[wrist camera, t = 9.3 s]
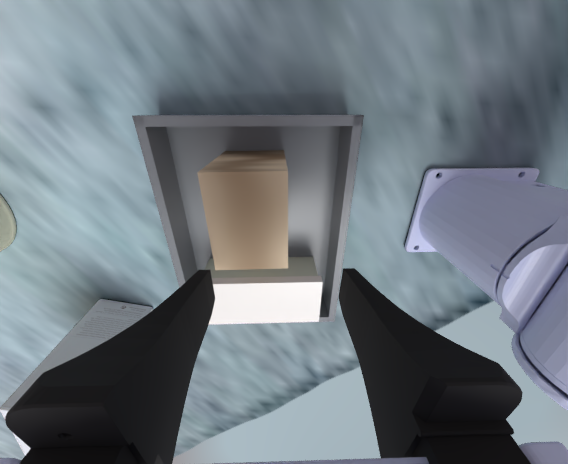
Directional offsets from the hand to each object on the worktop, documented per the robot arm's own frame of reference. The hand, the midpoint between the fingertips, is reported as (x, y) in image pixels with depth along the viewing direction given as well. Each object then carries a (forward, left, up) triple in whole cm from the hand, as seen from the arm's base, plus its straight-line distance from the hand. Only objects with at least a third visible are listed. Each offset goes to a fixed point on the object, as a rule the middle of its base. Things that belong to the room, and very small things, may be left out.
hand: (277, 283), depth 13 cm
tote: (+2, +1, -9) cm, 9 cm away
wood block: (+2, -3, -9) cm, 9 cm away
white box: (+2, +6, -9) cm, 11 cm away
